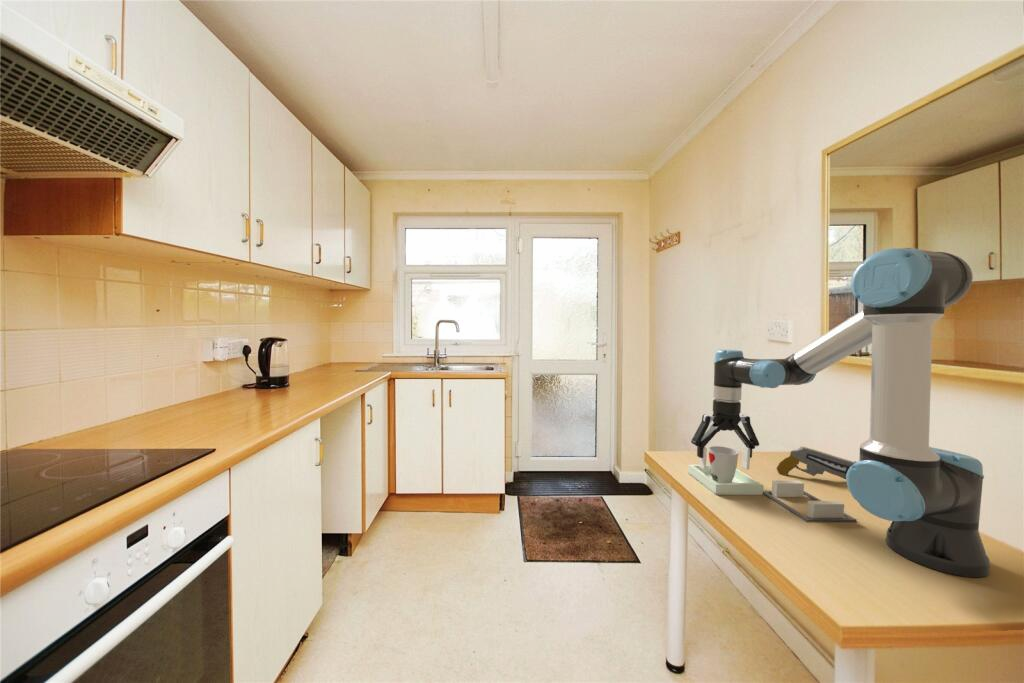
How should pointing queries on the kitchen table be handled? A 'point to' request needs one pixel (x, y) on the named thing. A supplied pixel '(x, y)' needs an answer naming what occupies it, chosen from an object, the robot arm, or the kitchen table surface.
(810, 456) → the gun
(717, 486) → the tray
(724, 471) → the cup
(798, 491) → the holder
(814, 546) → the kitchen table surface
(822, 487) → the kitchen table surface
